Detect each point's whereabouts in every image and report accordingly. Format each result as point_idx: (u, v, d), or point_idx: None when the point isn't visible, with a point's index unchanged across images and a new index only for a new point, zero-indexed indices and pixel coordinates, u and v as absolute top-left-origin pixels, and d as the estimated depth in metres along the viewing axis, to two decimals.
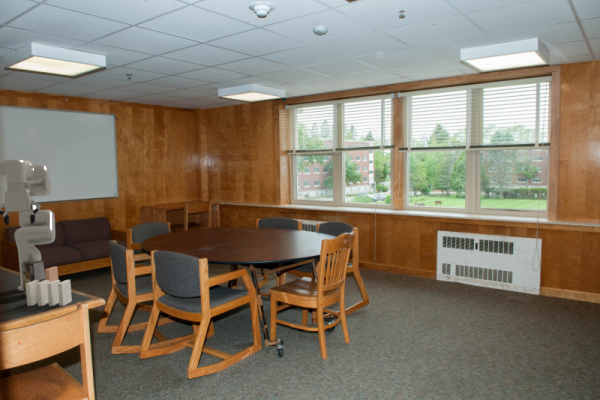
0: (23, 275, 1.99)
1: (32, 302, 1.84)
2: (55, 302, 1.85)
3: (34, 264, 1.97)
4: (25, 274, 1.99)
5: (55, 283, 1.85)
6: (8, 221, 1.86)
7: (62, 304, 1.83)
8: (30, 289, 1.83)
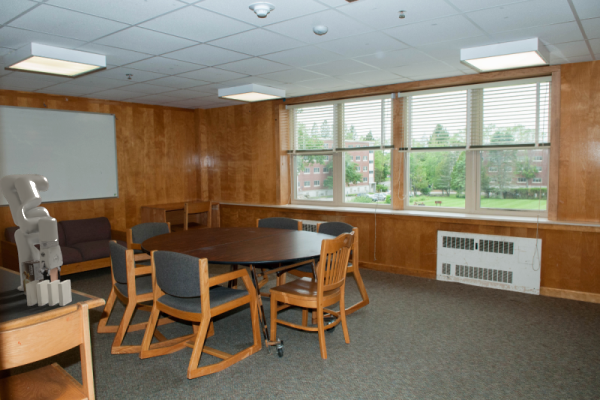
0: (23, 275, 1.99)
1: (32, 302, 1.84)
2: (55, 302, 1.85)
3: (34, 264, 1.97)
4: (25, 274, 1.99)
5: (55, 283, 1.85)
6: None
7: (62, 304, 1.83)
8: (30, 289, 1.83)
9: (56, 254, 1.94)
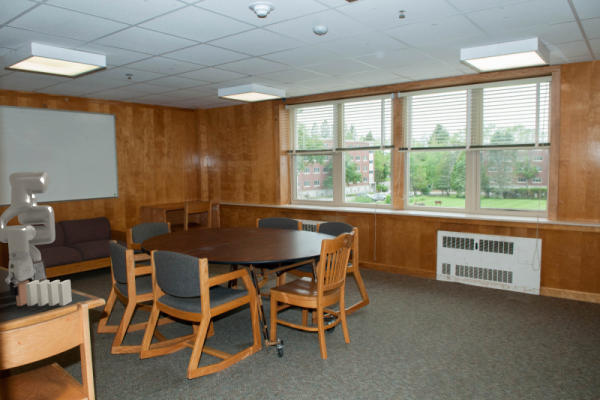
0: None
1: (32, 302, 1.84)
2: (55, 302, 1.85)
3: (34, 264, 1.97)
4: None
5: (55, 283, 1.85)
6: None
7: (62, 304, 1.83)
8: (30, 289, 1.83)
9: (27, 265, 1.86)
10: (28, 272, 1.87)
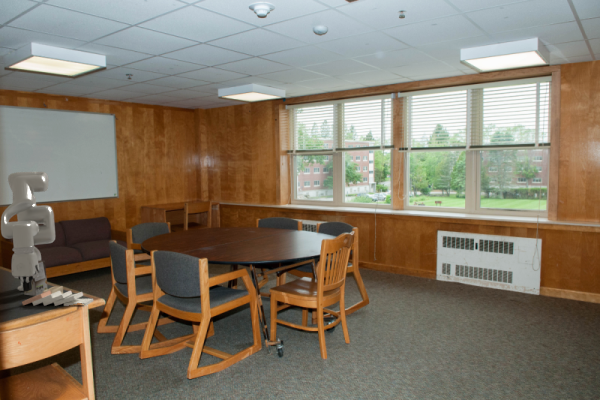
0: None
1: None
2: None
3: None
4: None
5: None
6: None
7: None
8: None
9: (21, 263, 1.82)
10: (23, 270, 1.83)
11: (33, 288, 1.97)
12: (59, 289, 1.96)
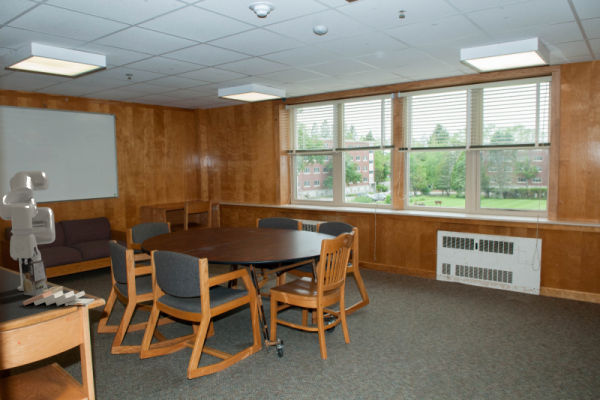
0: (23, 275, 1.99)
1: None
2: None
3: (34, 264, 1.97)
4: (25, 274, 1.99)
5: None
6: None
7: None
8: None
9: (20, 245, 1.82)
10: (21, 252, 1.82)
11: (33, 288, 1.97)
12: (59, 289, 1.96)
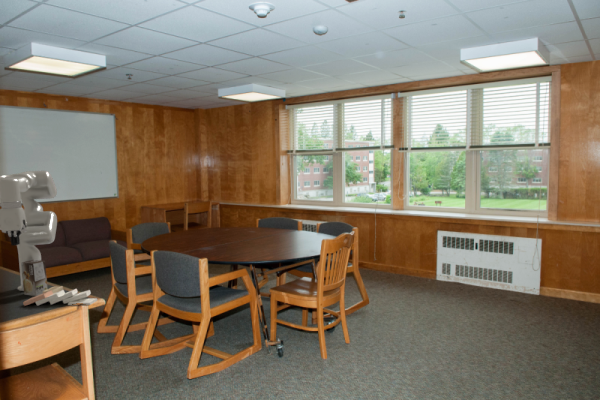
0: (23, 275, 1.99)
1: None
2: None
3: (34, 264, 1.97)
4: (25, 274, 1.99)
5: (87, 295, 1.89)
6: None
7: None
8: (52, 299, 1.84)
9: (9, 217, 1.85)
10: (11, 224, 1.85)
11: (33, 288, 1.97)
12: (59, 289, 1.96)
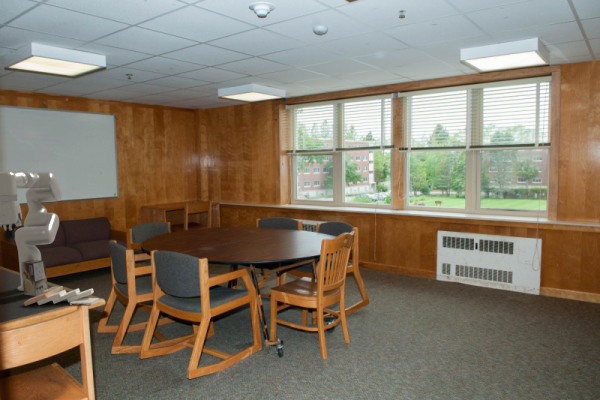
0: (23, 275, 1.99)
1: (42, 303, 1.85)
2: None
3: (34, 264, 1.97)
4: (25, 274, 1.99)
5: (91, 293, 1.91)
6: None
7: None
8: None
9: (4, 211, 1.86)
10: (6, 217, 1.86)
11: (33, 288, 1.97)
12: (59, 289, 1.96)
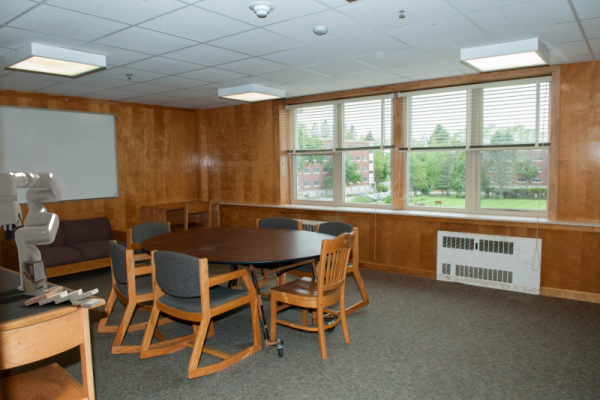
0: (23, 275, 1.99)
1: (43, 303, 1.85)
2: None
3: (34, 264, 1.97)
4: (25, 274, 1.99)
5: (94, 293, 1.87)
6: None
7: None
8: (55, 299, 1.84)
9: (4, 211, 1.86)
10: (6, 217, 1.86)
11: (33, 288, 1.97)
12: (59, 289, 1.96)
